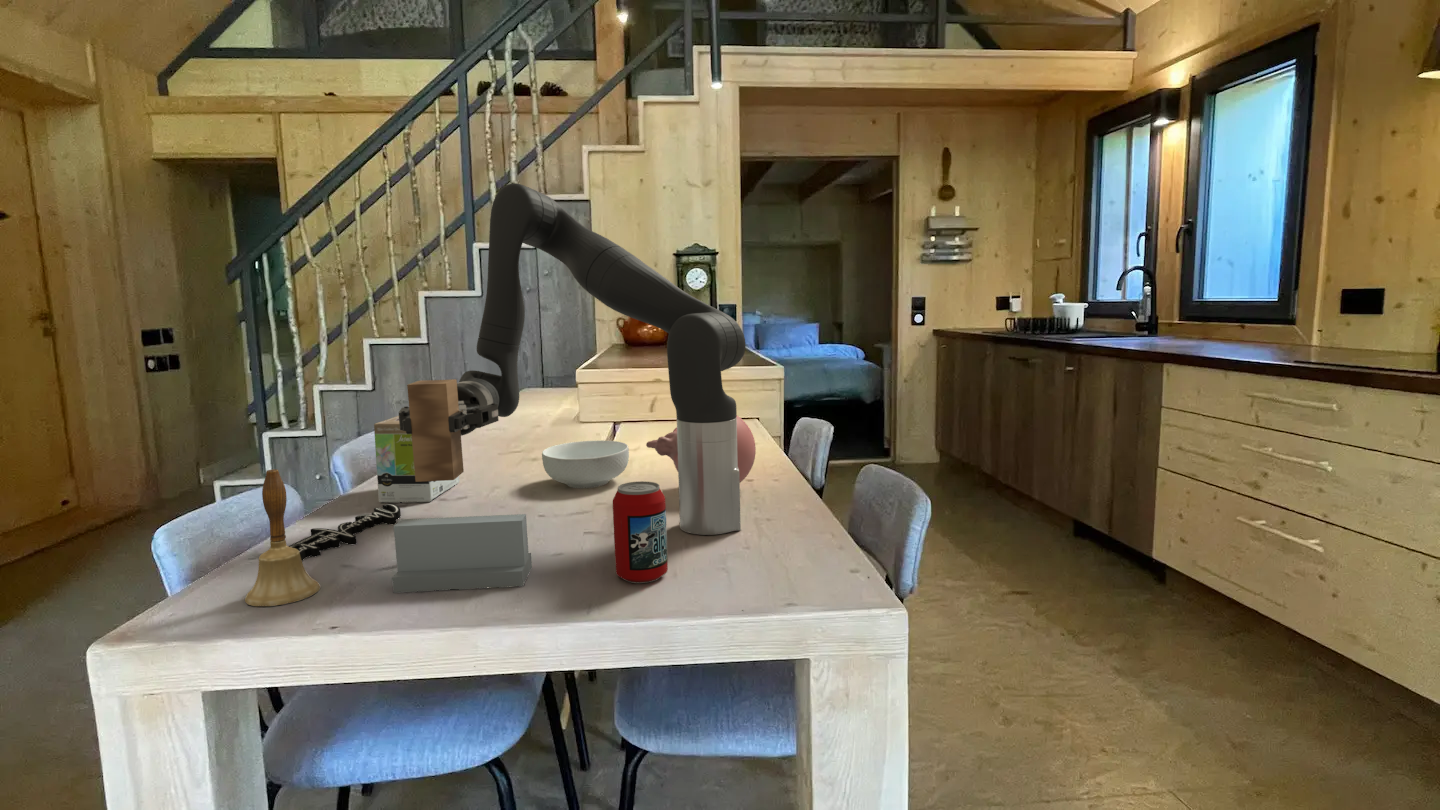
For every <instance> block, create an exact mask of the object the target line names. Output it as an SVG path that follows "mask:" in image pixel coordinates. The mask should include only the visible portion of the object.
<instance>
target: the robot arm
mask: <svg viewBox="0 0 1440 810" xmlns="http://www.w3.org/2000/svg"><path fill="white" fill-rule="evenodd" d="M488 234H489V236H488V239H489V240H488V256H487V257H488V261H487V262H488V263H487V281H486V295H485V302H484V307H483V312H482V313H483V314H482V318H481V323H480V328H479V333H478V338H477V342H476V353H477V354H478V355H479V356H480V357H482V358H484V359H486V360H488V361H490V362H493V363H494V364H496V365H497V366H498V368H499V369H500V372H501V375H498V374H494V373H488V372H484V371H479V370H473V369H472V370H467V371H465V372H464V373H463V374H462V375H461V377H460V379H459V381H458V382H457V392H458V405H459V410H458V412H456V413H454V414H452V415H450V416H449V418H448V422H449V431H450V432H457V431H458V430H460V431H461V437H462V436H465V435H468V434H470V433H472V432H473V431H475V430H477V429H481V428H484V427H486V426H489V425H491V424H493V423H497V422H499V421H500V420H499V417H501V418H507V417H509V416H511V415H513V413H514V412H515V411H516V410H517V407H518V406H519V402H520V386H519V374H518V359H519V351H520V345H521V340H522V335H523V331H524V326H525V319H526V316H525V315H526V313H525V312H526V311H525V310H526V309H525V308H526V307H525V302H524V295H523V291H522V285H521V279H520V278H521V277H520V269H519V268H520V264H519V262H520V255H521V254H520V253H521V250H522V246H523V244H524V245H527V246H530V247H534V248H536V249H538V250H540V251H543V252H544V253H547V254H548V255H549V256H552V257H553V258H555V259H557V260H558V261H560V262H561V263H562V264H564V265H565V266H566V267H567V268H568V270H569V272H570V273H571V274H572V276H573V278H574V280H575V281H576V282H577V283H578V285H580V286H581V287H582V288H583V289H584V290H585V291H586V292H587V293H588V294H590V295H592V297H594V298H595V299H596V300H597V301H599V302H601V303H602V304H604V306H606V307H607V308H609V309H611V310H613V311H615V312H617V313H619V314H621V315H624V316H626V317H629V318H631V319H634V320H637V321H639V322H642V323H645V324H648V325H650V326H654V327H655V328H658V329H660V330H662V331H664V332H665V333H667V334H668V336H667V341H666V342H667V347H666V349H667V350H666V353H667V354H666V355H667V368H668V369H667V371H668V379H669V380H668V381H669V382H668V383H669V392H670V398H671V401H672V404H673V406H674V409H675V412H676V413H675V414H676V427H677V445H678V471H677V473H678V475H677V476H678V502H679V503H678V505H679V514H678V515H679V517H678V518H679V528H680V529H681V530H682V531H684V532H685V533H688V534H691V535H692V534H694V535H704V536H705V535H706V536H710V535H713V536H714V535H721V534H726V533H730V532H735V531H741V530H742V529H741V492H740V491H741V488H740V485H741V482H740V477H739V469H738V459H737V416H738V414H737V411H738V410H737V403H736V400H735V399H734V398H733V397H731V396H730V395H728V394H727V393H726V392H725V390H724V387H723V380H722V379H723V378H722V372H723V371H726V370H729V369H731V368H733V367H734V366H736V365H738V364H739V363H740V362H741V360H742V359H743V358H744V355H745V352H746V346H747V345H746V338H745V335H744V332H743V330H742V328H741V326H740V325H739V323H738V322H737V321H736V320H735V319H734V318H733V317H732V316H730V315H728V314H727V313H724V312H723V311H722V310H719V309H717V308H715V307H714V306H711V305H709V304H708V303H706V302H704V301H702V300H700V299H698V298H696V297H694V296H692V295H691V294H689V293H687V292H686V291H685V290H682V289H681V288H679V287H678V286H677V285H675V283H673V281H672V282H671V280H669V279H667V278H666V277H665V276H663V275H662V274H661V273H659V272H657V271H656V270H655V269H653V268H652V267H651V266H649V265H647V264H646V263H645V262H644V261H642V260H641V259H640V258H639V257H637V256H635V255H634V254H632V253H631V252H629V251H628V250H627V249H625V247H622V246H620V245H619V244H617V243H615V242H613V241H612V240H611V239H609V238H607V237H605V236H603V235H601V234H599V233H597V232H595V231H593V230H591V229H589V228H588V227H586V226H584V225H582V223H580V222H579V221H578V220H577V219H576V218H575V217H574V216H572V215H571V214H570V213H568V211H567V210H566V209H564V208H563V207H562V206H561V205H560V204H559V203H558V202H557V201H555V200H554V199H553V198H551V197H550V196H548V195H546V194H544V193H542V192H540V191H538V190H536V189H533V188H531V187H529V186H526V185H523V184H521V183H513V182H512V183H508V184H506V185H504V186H502V187H501V189H499V190H498V192H497V193H496V195H495V196H494V199H493V201H492V205H491V209H490V217H489V233H488ZM398 416H399V424H400V430H403V431H406V433H407V434H412V426H411V419H410V411H409V405H408V406H407V405H406V406H404V407H401V408H400V410H399V411H398Z"/></svg>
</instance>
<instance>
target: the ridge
mask: <svg viewBox="0 0 1440 810" xmlns="http://www.w3.org/2000/svg"><path fill="white" fill-rule="evenodd" d="M392 526H393V536H394V547H395V548H394V549H395V558H396V571H397V572H395V574H394V575H393V576H392V577H391V580H392V591H393V592H392V593H395V594H396V593H415V592H417V591H418V592H434V590H435V591H436V590H439V591H451V590H450V589H459V590H474V589H473V588H479V589H491V588H490V587H499V588H510V587H509V586H519V587H524V585H525V583H524V582H526V581H527V579H528V577H527V576H529V575H528V574H530V573H531V571H530V570H532V569H533V560H532V556H533V555H532V552H529V540H528V523H527V514H526V513H522V514H521V513H520V514H519V513H517V514H499V515H498V514H497V515H495V514H494V515H493V514H492V515H472V516H454V517H453V516H451V517H449V516H448V517H427V518H425V517H424V518H405V519H401V518H400V520H399V521H398V522H397V523H396V524H393V525H392ZM529 572H530V573H529ZM526 578H527V579H526ZM525 580H526V581H525ZM523 584H524V585H523ZM507 586H508V587H507ZM487 587H489V588H487ZM470 588H472V589H470ZM448 589H449V590H448Z"/></svg>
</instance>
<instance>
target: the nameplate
mask: <svg viewBox="0 0 1440 810" xmlns="http://www.w3.org/2000/svg"><path fill="white" fill-rule="evenodd" d="M400 516H402V515H401V508H400V506H399V505H396V504H395V503H394V504H393V503H386V504H382V507H375V508H373V512H371V514H369V513H366V514H365V513H363V514H360V515H357V516H354V518H355V519H354V521H347V522H342V523H340V524H339V525H338V526H337V530H336V529H330V528H325V527H323V528H322V527H315V528H311V529H309V530H310V535H309V536H307V537H305V538H302V539H301V540H299V541H296V542H294V543H292V544H290V545H288V546H289V547H291V548H295V549H297V550H299V552H300V557H301V560H302V561H304V560H303V559H306V557H307V558H309V556H310V557H312V556H313V558H315V556H316V557H319V556H322V555H321V552H323V551H327V550H329V549H331V548H332V549H336V548H335V547H337V548H340V547H341V543H342V542H343V544H345V543H348V544H347V545H349V544H355V545H357V544H358V541H357V535H356V534H358V533H359V532H360V533H362V531H363V532H364V530H366V529H369V528H370V529H371V527H372V528H375V526H379V525H382V524H385V523H387V524H386V525H389V524H393V525H396V524H397V523H396V522H397V520H399V519H401V517H400ZM398 518H399V519H398ZM395 523H396V524H395ZM378 524H379V525H378ZM355 533H356V534H355ZM360 533H359V534H360ZM356 543H357V544H356ZM339 546H340V547H339Z"/></svg>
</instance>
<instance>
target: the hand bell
mask: <svg viewBox="0 0 1440 810" xmlns="http://www.w3.org/2000/svg"><path fill="white" fill-rule="evenodd" d="M261 493H262V494H261V495H262V496H261V497H262V504H263V508H264V510H265V513H266V516H267V517H268V520H269V536H270V538H269V539H270V542H269V543H270V544H269V545H270V547H269V549H268V550H266V551H264V552H263V553H261V554H260V555H259V557H258V569H257V570H258V572H257V577H256V579H255V583H254V585H253V586H252V588H251V590H249V591H248V592H247V594H246V596H245V598H244V602H245V603H246V604H247V605H249V606H252V607H276V606H282V605H288V604H291V603H296V602H299V601H302V600H305V599H307V598H310V597H312V596H313V595H315V594H317V593H318V592H319V591H320V590H321V585H320V583H319V582H318V581H317V580H316V579H314V578H312V577H311V576H310V575H309V573H308V572H307V571H306V568H305V566H304V563H303V560H301V557H300V552H299V550H297V549H295V548H291V547H289V546H290V545H287V541H286V540H287V538H286V537H287V535H286V529H285V528H286V527H285V522H284V521H285V520H284V519H285V518H284V517H285V513H286V509H287V490H286V486H285V483H284V481H283V480H282V477H281V475H280V472H279V469H275V468H274V469H272V468H271V469H268V470H266V472H265V477H264V480H263V484H262V491H261Z"/></svg>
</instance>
